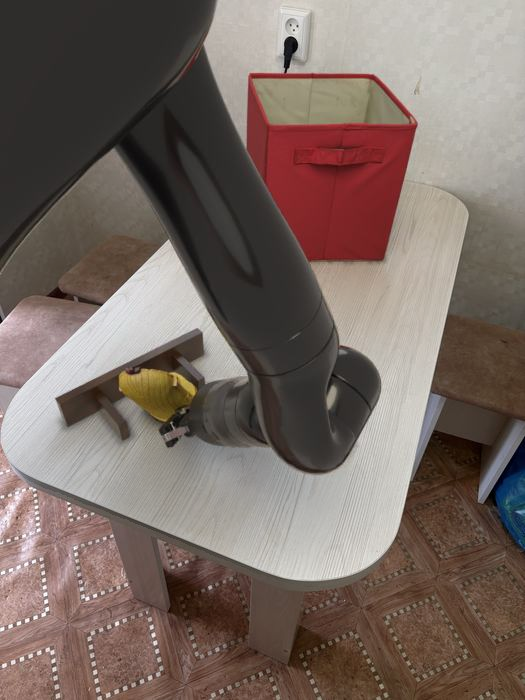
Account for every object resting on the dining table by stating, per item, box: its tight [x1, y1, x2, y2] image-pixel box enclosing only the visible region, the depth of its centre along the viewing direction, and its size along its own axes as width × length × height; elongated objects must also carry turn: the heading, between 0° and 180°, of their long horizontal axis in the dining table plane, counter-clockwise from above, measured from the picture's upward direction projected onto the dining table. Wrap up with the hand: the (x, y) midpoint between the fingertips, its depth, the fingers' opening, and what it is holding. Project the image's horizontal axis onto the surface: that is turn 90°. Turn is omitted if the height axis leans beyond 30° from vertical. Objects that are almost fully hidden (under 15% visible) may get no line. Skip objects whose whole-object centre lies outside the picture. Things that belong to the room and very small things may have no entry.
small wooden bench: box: [54, 327, 206, 441], centre depth 75 cm, size 24×8×5 cm, turn 131°
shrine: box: [119, 366, 198, 424], centre depth 69 cm, size 12×8×15 cm
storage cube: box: [245, 72, 419, 263], centre depth 105 cm, size 32×28×29 cm
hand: (181, 414), depth 70 cm, fingers closed
